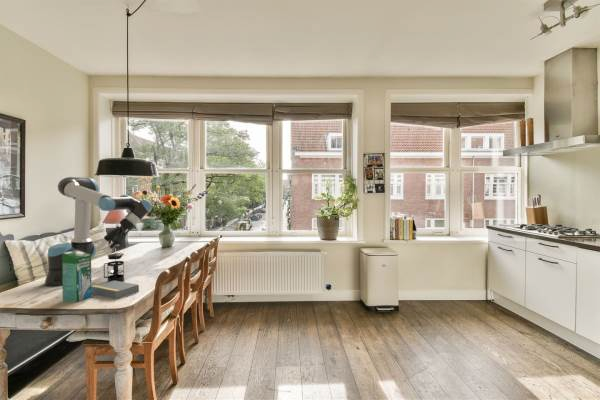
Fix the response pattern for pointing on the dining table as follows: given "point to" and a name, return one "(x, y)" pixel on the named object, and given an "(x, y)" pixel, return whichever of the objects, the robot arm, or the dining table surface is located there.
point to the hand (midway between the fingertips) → (101, 251)
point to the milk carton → (76, 276)
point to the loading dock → (114, 289)
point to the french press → (115, 267)
